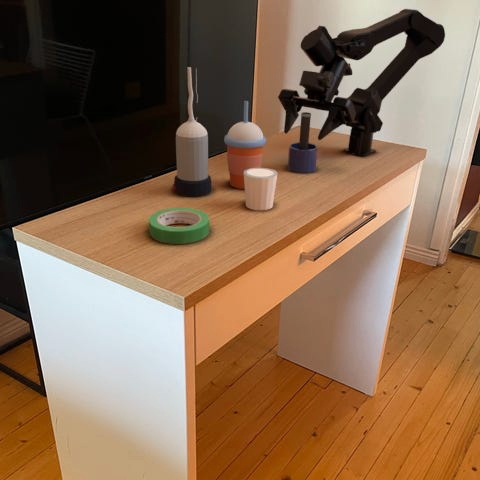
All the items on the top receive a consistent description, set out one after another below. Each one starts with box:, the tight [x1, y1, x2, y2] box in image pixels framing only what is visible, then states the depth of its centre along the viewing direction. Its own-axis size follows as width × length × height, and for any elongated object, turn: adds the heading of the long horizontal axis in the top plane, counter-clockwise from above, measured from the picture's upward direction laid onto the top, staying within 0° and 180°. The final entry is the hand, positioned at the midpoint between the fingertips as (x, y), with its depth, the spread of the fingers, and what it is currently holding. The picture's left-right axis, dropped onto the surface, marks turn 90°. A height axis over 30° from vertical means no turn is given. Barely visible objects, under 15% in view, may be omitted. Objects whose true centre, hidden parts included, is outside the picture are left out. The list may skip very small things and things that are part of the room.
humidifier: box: [172, 66, 212, 198], centre depth 120 cm, size 8×8×25 cm
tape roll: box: [148, 207, 210, 245], centre depth 107 cm, size 11×11×3 cm
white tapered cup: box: [244, 167, 278, 211], centre depth 118 cm, size 7×7×7 cm
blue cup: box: [287, 142, 319, 174], centre depth 140 cm, size 7×7×6 cm
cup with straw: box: [223, 100, 267, 190], centre depth 126 cm, size 9×9×18 cm
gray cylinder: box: [298, 111, 312, 150], centre depth 138 cm, size 2×2×12 cm
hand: (301, 135), depth 136 cm, fingers open, 9 cm apart
